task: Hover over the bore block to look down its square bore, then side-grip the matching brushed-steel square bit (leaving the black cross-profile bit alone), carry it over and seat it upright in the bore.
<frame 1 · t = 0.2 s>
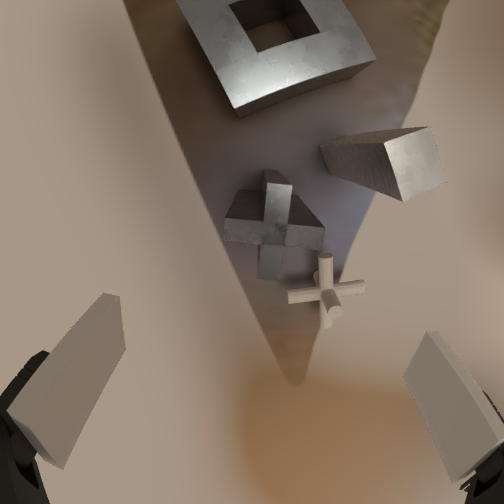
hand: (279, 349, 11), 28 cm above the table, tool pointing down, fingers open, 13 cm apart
cross bit: (267, 199, 37), on the table
bore block: (270, 45, 29), on the table
pipe connector: (319, 274, 40), on the table
square bit: (338, 154, 34), on the table
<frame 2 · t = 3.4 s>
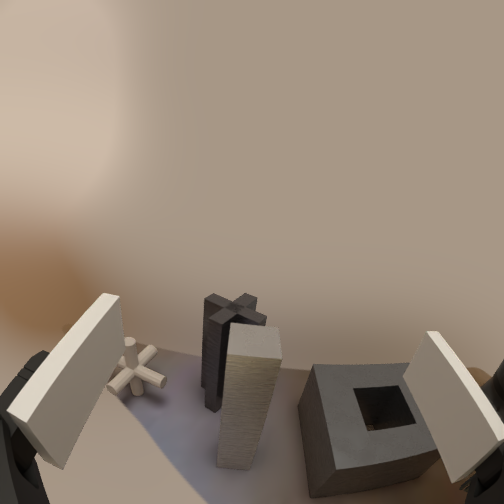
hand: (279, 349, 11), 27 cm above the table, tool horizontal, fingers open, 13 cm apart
cross bit: (225, 394, 39), on the table
bore block: (357, 444, 31), on the table
pipe connector: (137, 392, 36), on the table
square bit: (233, 456, 28), on the table
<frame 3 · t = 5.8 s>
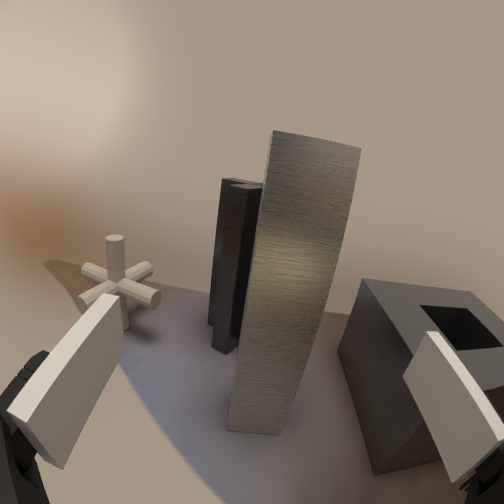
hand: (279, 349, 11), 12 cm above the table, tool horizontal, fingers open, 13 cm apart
cross bit: (239, 334, 30), on the table
bore block: (421, 397, 22), on the table
pipe connector: (121, 326, 28), on the table
square bit: (253, 413, 20), on the table
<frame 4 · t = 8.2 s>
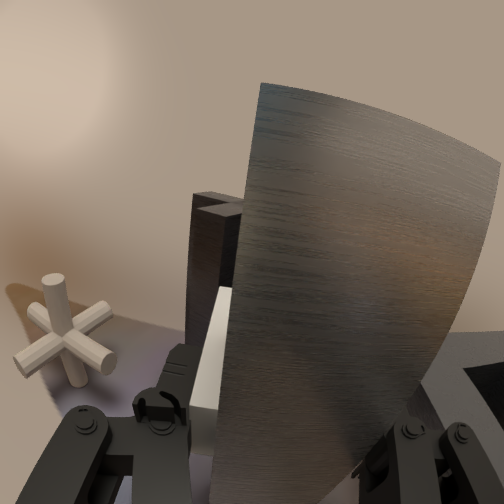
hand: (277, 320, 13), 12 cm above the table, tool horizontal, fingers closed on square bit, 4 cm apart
cross bit: (225, 394, 22), on the table
bore block: (446, 465, 14), on the table
pipe connector: (79, 381, 19), on the table
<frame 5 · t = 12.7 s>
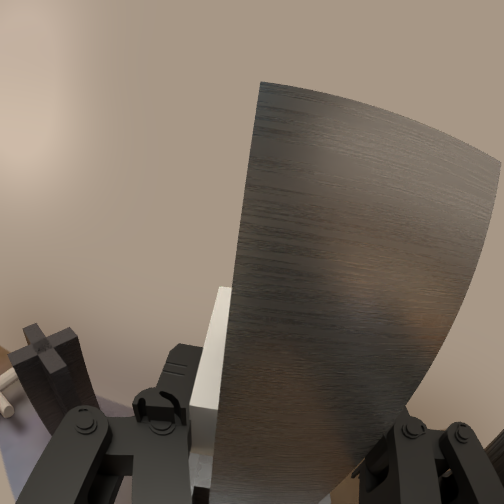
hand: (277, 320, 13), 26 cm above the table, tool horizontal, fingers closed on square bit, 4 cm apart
cross bit: (83, 437, 25), on the table
pipe connector: (7, 414, 22), on the table
when the fingers open (14 cm above the table, at t = 17.0 s): square bit drops 3 cm, resting in bore block.
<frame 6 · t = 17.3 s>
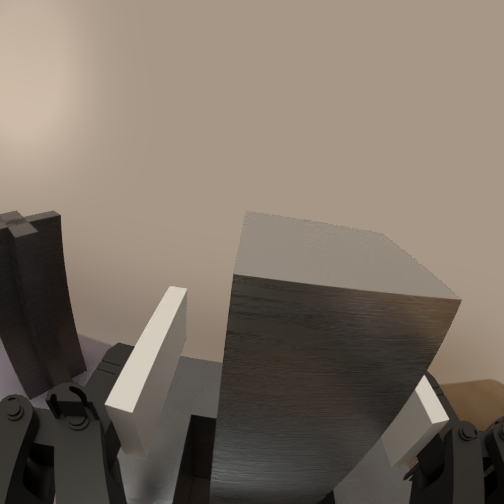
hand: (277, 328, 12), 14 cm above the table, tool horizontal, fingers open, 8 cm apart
cross bit: (54, 379, 21), on the table
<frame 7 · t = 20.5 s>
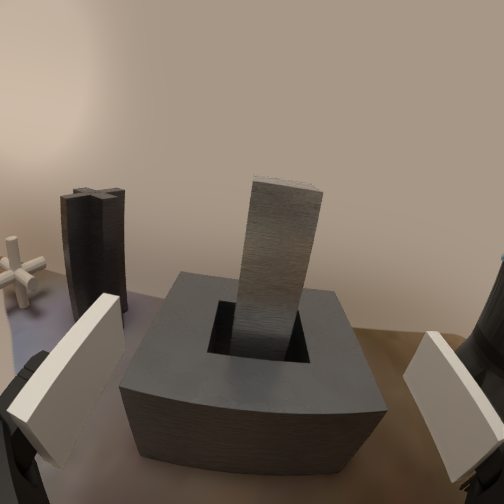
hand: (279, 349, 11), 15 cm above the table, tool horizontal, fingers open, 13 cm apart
cross bit: (102, 317, 32), on the table
bore block: (244, 402, 24), on the table
pipe connector: (24, 306, 30), on the table
square bit: (244, 402, 24), resting in bore block
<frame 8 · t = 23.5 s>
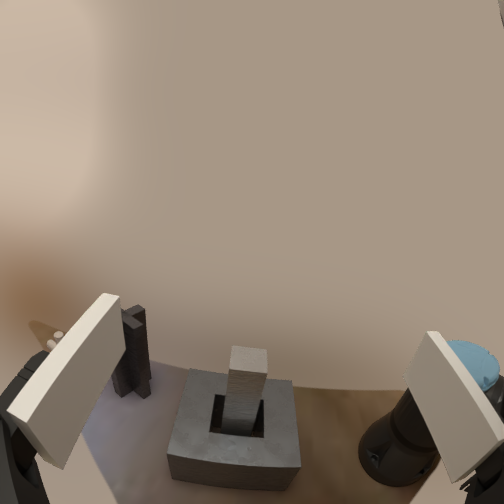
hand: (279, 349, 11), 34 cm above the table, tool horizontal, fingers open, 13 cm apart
cross bit: (133, 385, 45), on the table
bore block: (232, 445, 37), on the table
pipe connector: (71, 375, 42), on the table
square bit: (231, 446, 37), resting in bore block
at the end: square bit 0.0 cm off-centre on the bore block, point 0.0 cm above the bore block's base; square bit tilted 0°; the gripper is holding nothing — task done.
